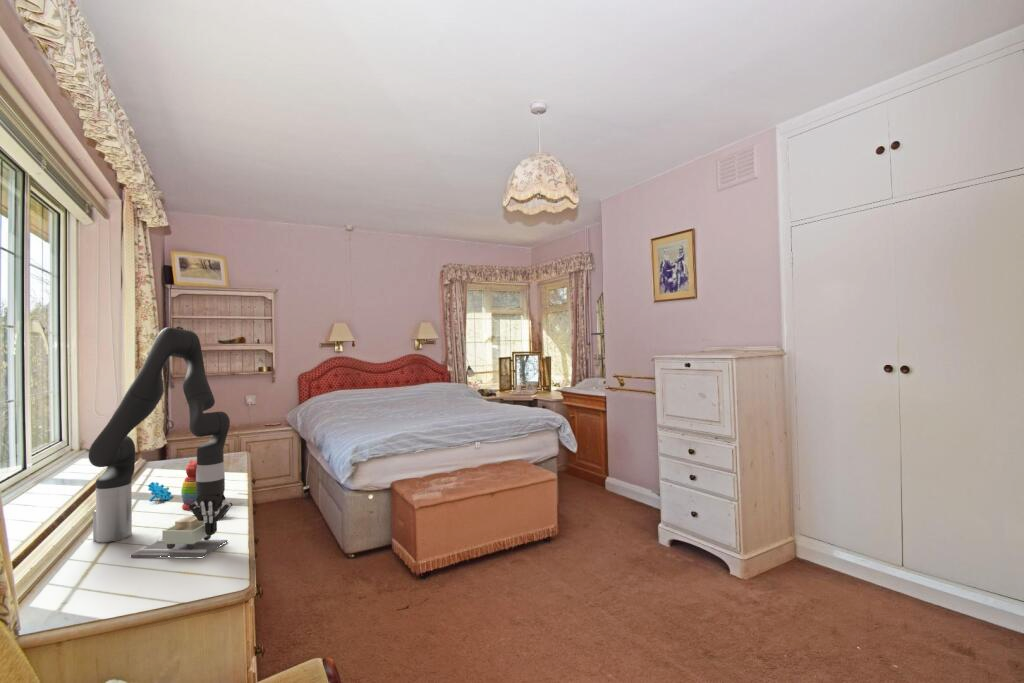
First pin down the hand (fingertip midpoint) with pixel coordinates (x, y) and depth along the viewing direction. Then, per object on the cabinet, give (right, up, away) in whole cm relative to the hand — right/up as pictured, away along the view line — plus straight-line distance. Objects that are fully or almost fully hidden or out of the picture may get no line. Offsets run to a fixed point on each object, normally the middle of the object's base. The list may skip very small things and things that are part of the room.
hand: (210, 534), depth 152 cm
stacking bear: (-32, -6, +43) cm, 54 cm away
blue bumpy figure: (-53, -7, +53) cm, 75 cm away
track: (-10, -5, +1) cm, 11 cm away
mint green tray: (-7, -3, 0) cm, 8 cm away
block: (-7, 0, 0) cm, 7 cm away
